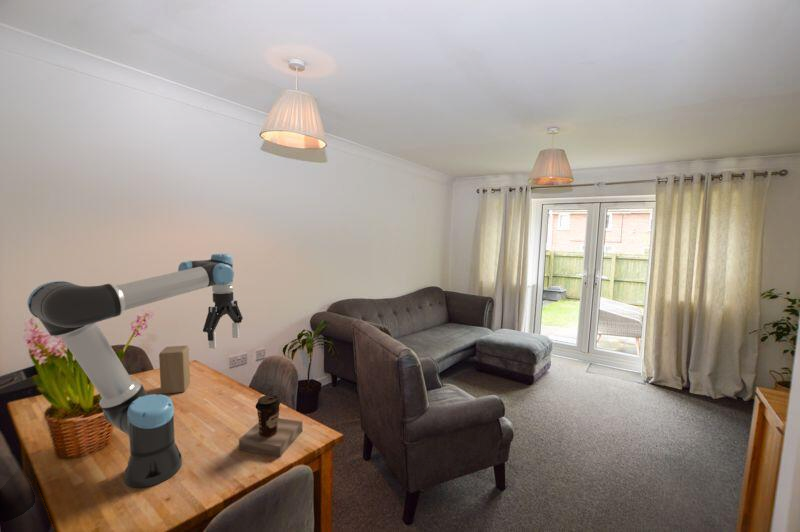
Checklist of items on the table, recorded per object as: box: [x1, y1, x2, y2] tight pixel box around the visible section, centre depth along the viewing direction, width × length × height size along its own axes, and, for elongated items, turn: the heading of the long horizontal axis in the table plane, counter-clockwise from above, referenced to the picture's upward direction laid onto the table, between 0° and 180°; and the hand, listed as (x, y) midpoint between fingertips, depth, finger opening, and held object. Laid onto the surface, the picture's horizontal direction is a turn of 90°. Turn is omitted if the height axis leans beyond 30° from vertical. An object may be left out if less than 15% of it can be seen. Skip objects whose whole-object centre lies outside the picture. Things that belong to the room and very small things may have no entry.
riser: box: [238, 417, 304, 458], centre depth 131 cm, size 16×16×4 cm
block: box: [158, 345, 191, 395], centre depth 168 cm, size 10×10×20 cm
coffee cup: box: [255, 394, 281, 438], centre depth 128 cm, size 9×8×13 cm
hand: (224, 342), depth 145 cm, fingers open, 13 cm apart
